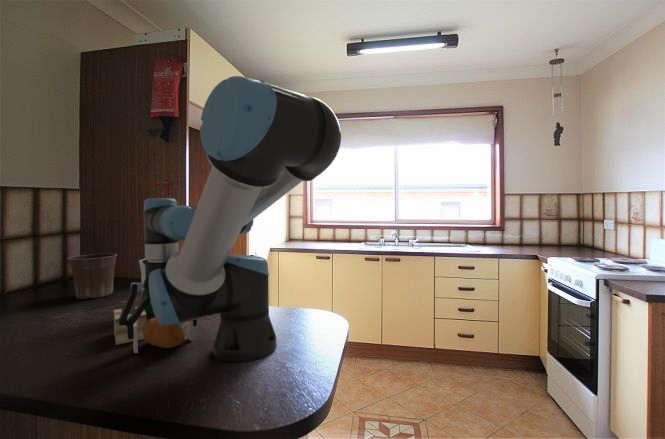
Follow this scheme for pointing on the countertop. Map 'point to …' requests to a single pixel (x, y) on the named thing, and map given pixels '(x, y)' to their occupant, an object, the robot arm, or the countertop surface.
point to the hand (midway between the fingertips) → (164, 344)
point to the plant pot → (93, 275)
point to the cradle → (121, 331)
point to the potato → (162, 334)
